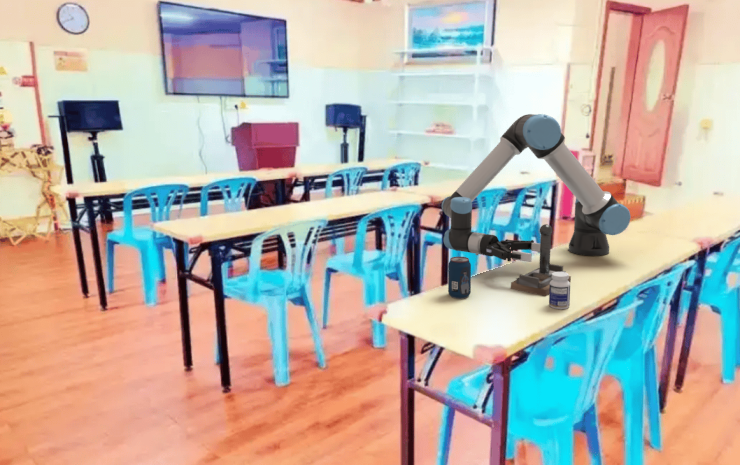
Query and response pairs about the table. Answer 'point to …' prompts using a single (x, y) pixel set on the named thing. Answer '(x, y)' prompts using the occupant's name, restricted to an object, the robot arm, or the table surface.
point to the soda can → (459, 277)
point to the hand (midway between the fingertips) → (540, 253)
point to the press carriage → (544, 253)
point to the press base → (535, 282)
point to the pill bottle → (559, 291)
